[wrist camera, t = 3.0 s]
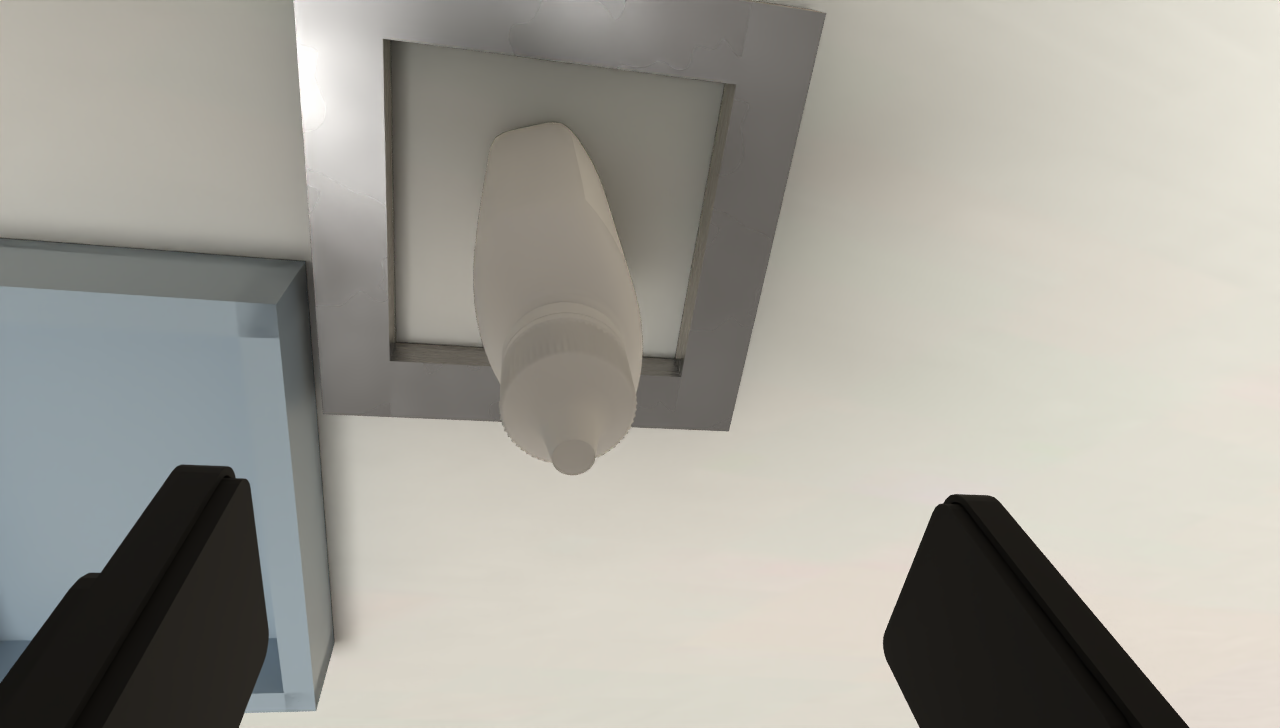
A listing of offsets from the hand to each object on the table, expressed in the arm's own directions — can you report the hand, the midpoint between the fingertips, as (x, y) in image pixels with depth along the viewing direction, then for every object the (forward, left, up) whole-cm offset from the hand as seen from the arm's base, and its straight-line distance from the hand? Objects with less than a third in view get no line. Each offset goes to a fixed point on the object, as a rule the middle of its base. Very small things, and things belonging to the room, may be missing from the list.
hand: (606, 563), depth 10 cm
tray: (+10, -13, -14) cm, 22 cm away
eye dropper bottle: (0, 0, -14) cm, 14 cm away
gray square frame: (0, 0, -14) cm, 14 cm away
